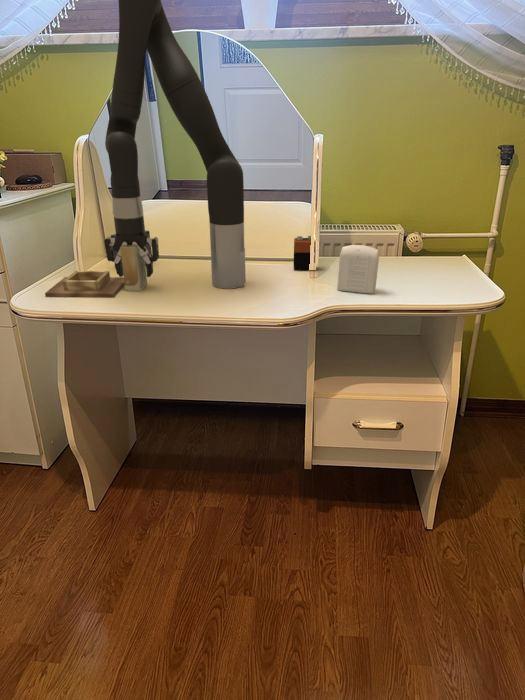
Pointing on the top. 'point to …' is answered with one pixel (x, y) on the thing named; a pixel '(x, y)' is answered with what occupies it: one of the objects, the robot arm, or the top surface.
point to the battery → (302, 253)
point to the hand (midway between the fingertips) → (135, 275)
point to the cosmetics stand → (87, 285)
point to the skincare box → (133, 268)
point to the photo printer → (358, 269)
